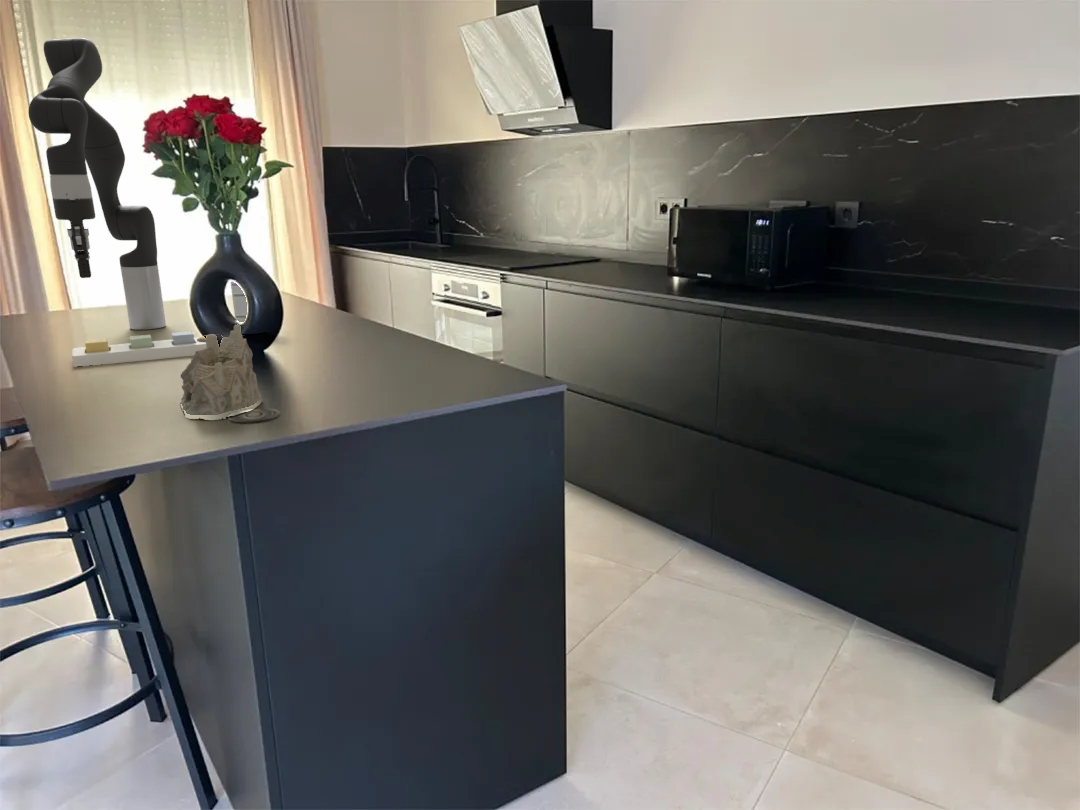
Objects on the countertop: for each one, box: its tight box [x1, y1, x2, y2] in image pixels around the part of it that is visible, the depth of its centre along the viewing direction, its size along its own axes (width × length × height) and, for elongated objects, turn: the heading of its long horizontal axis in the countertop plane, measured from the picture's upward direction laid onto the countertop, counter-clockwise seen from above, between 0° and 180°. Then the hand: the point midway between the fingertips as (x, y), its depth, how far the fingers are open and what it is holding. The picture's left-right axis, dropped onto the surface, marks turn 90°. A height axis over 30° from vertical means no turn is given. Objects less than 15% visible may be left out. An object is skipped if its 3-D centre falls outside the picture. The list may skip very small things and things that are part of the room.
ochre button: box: [84, 337, 109, 353], centre depth 176 cm, size 4×4×3 cm
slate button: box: [171, 330, 195, 345], centre depth 184 cm, size 4×4×3 cm
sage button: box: [129, 334, 153, 349], centre depth 180 cm, size 4×4×3 cm
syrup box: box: [229, 280, 247, 322], centre depth 207 cm, size 6×6×14 cm
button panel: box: [71, 335, 206, 368], centre depth 182 cm, size 10×32×3 cm, turn 119°
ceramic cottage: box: [179, 324, 262, 415], centre depth 138 cm, size 16×16×15 cm
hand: (85, 277), depth 172 cm, fingers closed
